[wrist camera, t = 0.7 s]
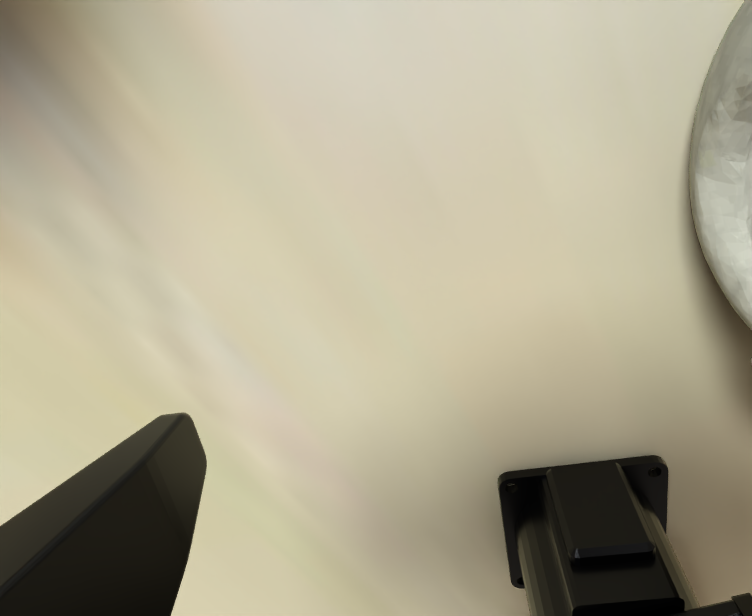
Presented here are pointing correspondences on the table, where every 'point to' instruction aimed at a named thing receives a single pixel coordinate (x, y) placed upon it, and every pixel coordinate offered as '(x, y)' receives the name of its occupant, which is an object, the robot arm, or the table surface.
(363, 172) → the table surface
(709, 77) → the dish
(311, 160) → the table surface
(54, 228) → the table surface
